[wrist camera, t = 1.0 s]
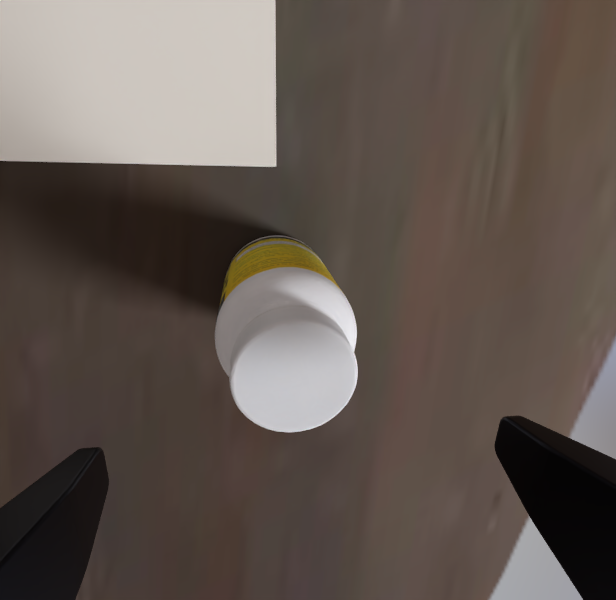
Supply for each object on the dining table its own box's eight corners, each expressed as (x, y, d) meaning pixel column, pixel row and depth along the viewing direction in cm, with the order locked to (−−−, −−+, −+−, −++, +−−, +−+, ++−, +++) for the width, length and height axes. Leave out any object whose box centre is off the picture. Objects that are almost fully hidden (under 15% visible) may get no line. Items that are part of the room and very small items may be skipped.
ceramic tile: (-47, 159, 17) (-65, 159, 16) (-154, -229, 12) (-187, -261, 12) (274, 166, 19) (276, 166, 18) (272, -166, 15) (273, -188, 14)
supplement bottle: (210, 249, 20) (177, 326, 10) (311, 221, 20) (365, 272, 11) (242, 340, 22) (238, 471, 12) (333, 313, 22) (395, 422, 13)
